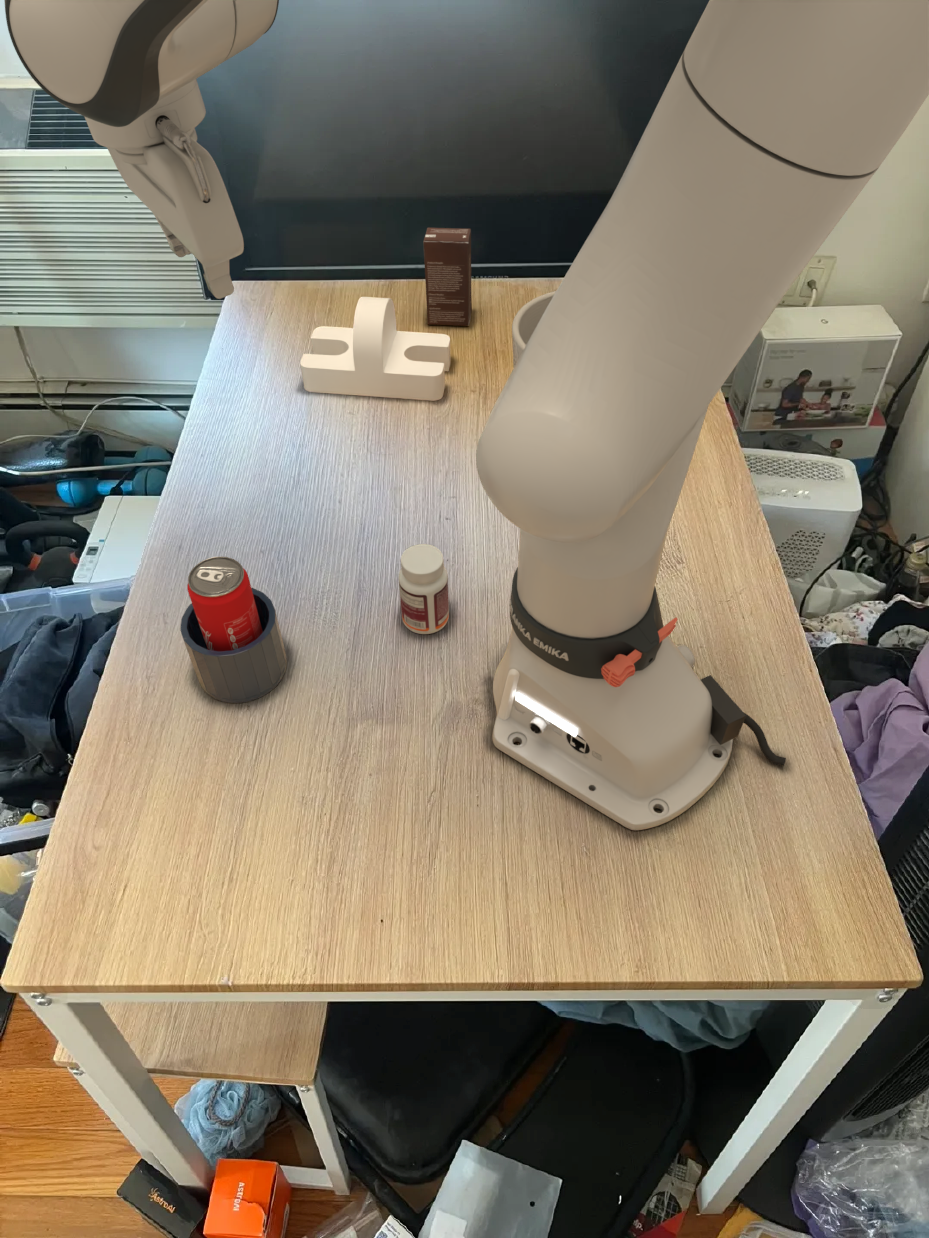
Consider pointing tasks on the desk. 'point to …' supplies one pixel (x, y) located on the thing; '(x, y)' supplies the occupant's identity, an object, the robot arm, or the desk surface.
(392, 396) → the white u-slot block
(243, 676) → the faceted open cup
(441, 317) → the box
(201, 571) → the beverage can
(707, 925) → the desk surface
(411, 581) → the pill bottle
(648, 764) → the robot arm
